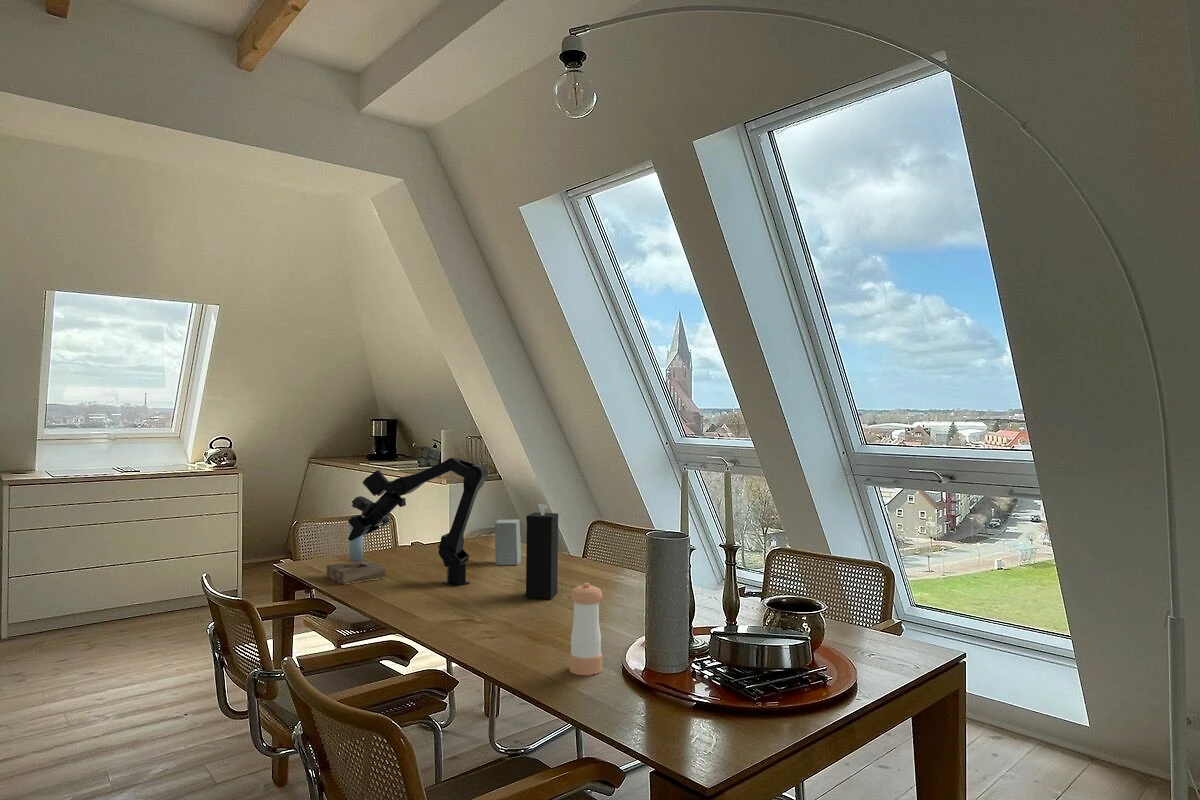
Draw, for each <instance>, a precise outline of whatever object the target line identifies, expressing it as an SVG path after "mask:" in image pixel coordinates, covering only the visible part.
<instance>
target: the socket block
mask: <svg viewBox="0 0 1200 800" xmlns="http://www.w3.org/2000/svg"><path fill="white" fill-rule="evenodd" d="M327 577H329V578H331V579H334V580H336V581H338V582H340V583H343V584H346V583H352V582H358V581H364V580H370V579H376V578H383V577H385V578H386V566H384V565H382V564H378V563H376V562H373V561H371V560H368V559H363V560H362V561H357V562H352V561H349V562H342V563H336V564H335V563H334V564H327V565H326V578H327ZM329 578H328V579H329ZM331 579H330V580H331ZM334 580H333V581H334ZM336 581H335V582H336ZM338 582H337V583H338ZM340 583H339V584H340Z"/></svg>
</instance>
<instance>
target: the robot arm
mask: <svg viewBox="0 0 1200 800" xmlns="http://www.w3.org/2000/svg"><path fill="white" fill-rule="evenodd" d="M450 472H453V473H454V474H456V475H458V476H460V477H462V478H463V482H462V483H463V484H462V485H463V492H462V495H461V498H460V501H459V504H458V507H457V510H456V512H455V514H454V515H455V516H454V517H453V518H454V519H453V521H452V524H451V527H450V530H449V532H447V533H446V534H442V536H440V537H441V538H440V542H439V544H438V546H437V548H438V555H439V557H440V558H441V560H442V561H443V565H444V567H446V580H443V581H442V583H443V584H445V583H446V585H448V586H450V585H451V587H457V586H463V585H469V584H470V583H471V582H470V581H468V580H467V579H466V578H467V577H466V576H467V573H466V572H467V571H466V569H467V566H466V564H467V563H468V562H469V559H470V555H469V554H468V552H466V551H465V549H464V543H465V540H464V539H465V538H464V537H465V536H464V533H465V530H466V527H467V524H468V522H469V519H470V515H471V512H472V510H473V507H474V503H475V500H476V498H477V495H478V493H479V491H480V490H481V489H482V487H483V486H484V484H485V482H486V481H487V479H488V477H489V470H488V469H487V467H486V466H485V465H484V464H478V463H477V464H475V463H472V462H469V461H465V460H463V459H461V458H458V457H450V458H448V459H446V460H443V462H440V463H438V464H435V465H433V466H431V467H429V468H425V470H422V471H420V472H417V473H414V474H409V475H406V476H402V477H397V478H396V479H394V480H388V479H387V478H386V477H385V475H383V473H382V472H381V470H375V471H374V472H373V473H371V474H369V476H367V477H366V478H364V479H363V481H362V485H364V487H365V488H366V489H367V490H368V491H369V492H370V493H371V495H372V496H374V497H376V496H378V497H379V498H378V499H377V500H376V501H375V502H373V501H372V500H370V499H369V498H367V497H364V496H362V495H360V496H359V495H358V496H356V497H355V498H354V499H353V500H351V503H352V505H351V507H352V508H355V509H356V510H359V511H361V514H359V515H357V514H355V515H352V516H351V517H349V519H348V520H347V522H348V524H349V523H350V525H351V526H352V527H353V530H352V532H351V534H350V535H348V537H347V540H348V542H349V541H351V540H354V539H356V538H358V537H360V536H362V535H363V537H364V536H366V535H369V534H370V533H372V532H375V531H377V530H379V529H381V528H384V527H386V526H387V525H388V524H389V523H390V518H389V516H390V515H391V514H392V513H391V512H393V510H394V509H395V508H396V507H397V506H399V508H402V507H405V506H407V504H406V503H407V501H406V497H402V496H404V495H409V494H411V493H413V492H415V491H416V490H417V489H419V488H420V487H421V486H423V485H424V484H426V483H429V481H432V480H434V479H436V478H437V479H438V478H439V477H441V476H443V475H445V474H448V473H450ZM379 525H380V526H379Z"/></svg>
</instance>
